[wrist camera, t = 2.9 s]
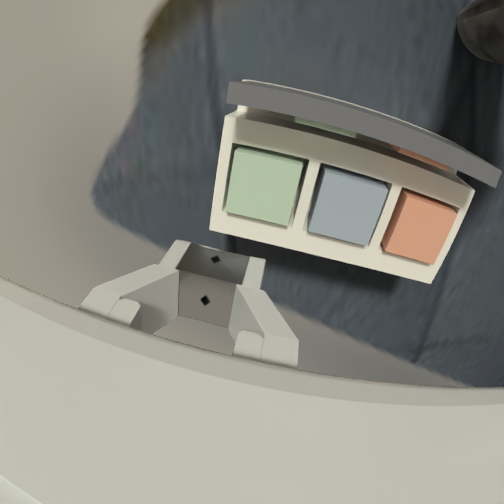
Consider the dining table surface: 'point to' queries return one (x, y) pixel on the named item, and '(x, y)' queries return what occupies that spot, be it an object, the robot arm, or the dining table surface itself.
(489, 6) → the beverage cup
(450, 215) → the key terracotta
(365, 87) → the dining table surface
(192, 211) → the dining table surface
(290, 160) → the key sage
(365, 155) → the keypad console
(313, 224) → the key slate
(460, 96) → the dining table surface
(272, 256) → the dining table surface
